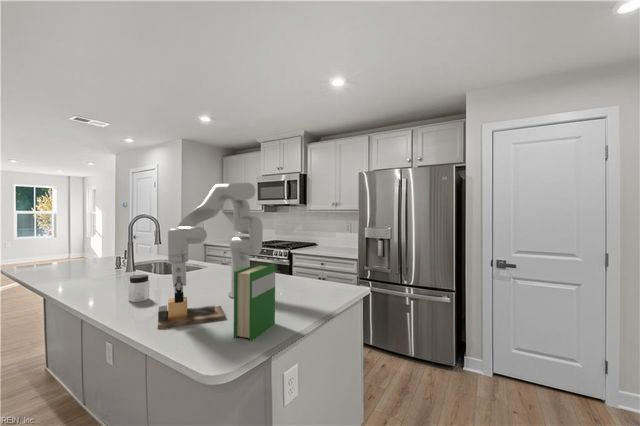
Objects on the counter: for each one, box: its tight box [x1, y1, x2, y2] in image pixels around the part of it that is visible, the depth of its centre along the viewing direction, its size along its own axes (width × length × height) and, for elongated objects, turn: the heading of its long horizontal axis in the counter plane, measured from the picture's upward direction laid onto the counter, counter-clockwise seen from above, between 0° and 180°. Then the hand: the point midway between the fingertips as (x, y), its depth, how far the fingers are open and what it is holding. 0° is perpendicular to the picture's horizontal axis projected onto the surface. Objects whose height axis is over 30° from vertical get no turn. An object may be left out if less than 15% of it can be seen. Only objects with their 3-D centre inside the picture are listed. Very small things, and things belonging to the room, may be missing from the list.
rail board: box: [157, 304, 226, 329], centre depth 127 cm, size 25×14×6 cm, turn 116°
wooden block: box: [167, 296, 188, 320], centre depth 124 cm, size 7×6×7 cm
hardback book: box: [233, 262, 276, 342], centre depth 115 cm, size 18×7×24 cm, turn 161°
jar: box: [128, 273, 150, 303], centre depth 151 cm, size 9×8×12 cm
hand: (179, 298), depth 125 cm, fingers open, 9 cm apart
